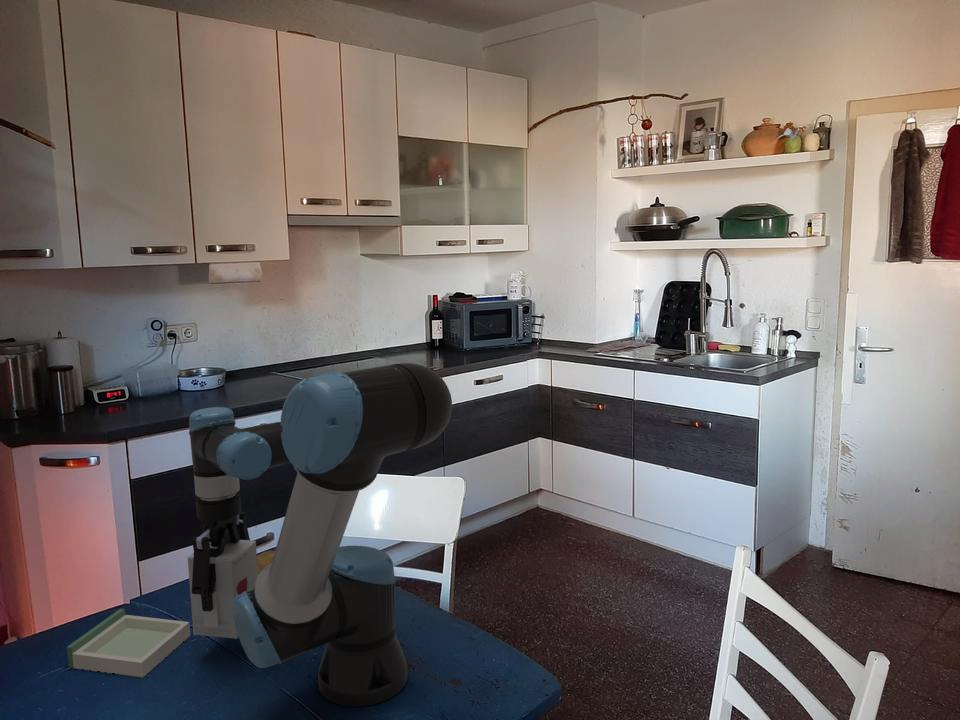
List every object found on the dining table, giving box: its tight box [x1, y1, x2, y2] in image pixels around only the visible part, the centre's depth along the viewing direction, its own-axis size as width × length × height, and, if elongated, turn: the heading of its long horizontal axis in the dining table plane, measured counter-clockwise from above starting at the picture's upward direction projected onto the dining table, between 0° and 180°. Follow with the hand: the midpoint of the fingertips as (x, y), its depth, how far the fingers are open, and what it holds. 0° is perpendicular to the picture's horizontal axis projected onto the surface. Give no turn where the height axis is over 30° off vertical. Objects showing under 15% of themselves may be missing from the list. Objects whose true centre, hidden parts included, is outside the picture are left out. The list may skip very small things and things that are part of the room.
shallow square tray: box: [66, 608, 191, 678], centre depth 137 cm, size 15×14×4 cm
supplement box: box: [187, 539, 258, 640], centre depth 135 cm, size 9×9×15 cm
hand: (227, 612), depth 136 cm, fingers closed on supplement box, 9 cm apart
